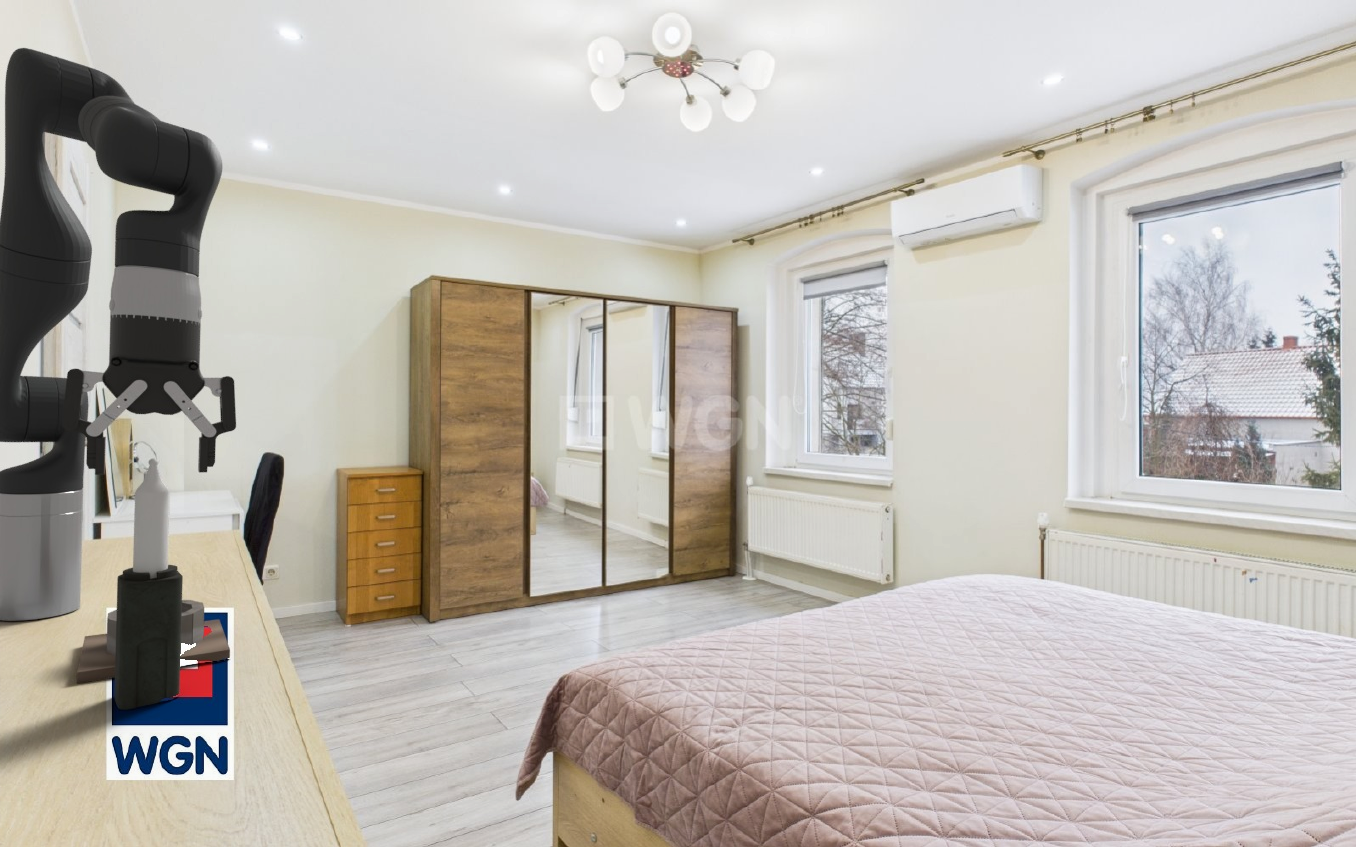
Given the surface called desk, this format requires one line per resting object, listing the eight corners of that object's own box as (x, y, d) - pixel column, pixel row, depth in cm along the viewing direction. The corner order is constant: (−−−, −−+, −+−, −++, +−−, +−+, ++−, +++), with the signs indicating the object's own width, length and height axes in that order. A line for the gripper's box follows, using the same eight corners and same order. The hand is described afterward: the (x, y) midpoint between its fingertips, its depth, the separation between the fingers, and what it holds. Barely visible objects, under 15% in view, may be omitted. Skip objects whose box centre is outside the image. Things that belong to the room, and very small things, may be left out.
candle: (172, 683, 77) (178, 456, 76) (181, 698, 73) (188, 459, 73) (112, 695, 73) (119, 456, 73) (119, 711, 70) (125, 460, 69)
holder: (84, 645, 87) (85, 604, 87) (219, 628, 96) (220, 590, 95) (76, 683, 76) (78, 635, 76) (229, 659, 84) (230, 616, 84)
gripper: (234, 326, 80) (230, 468, 80) (68, 312, 71) (65, 471, 71) (241, 321, 74) (237, 474, 74) (62, 304, 65) (58, 478, 66)
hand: (152, 473), depth 73 cm, fingers open, 8 cm apart
